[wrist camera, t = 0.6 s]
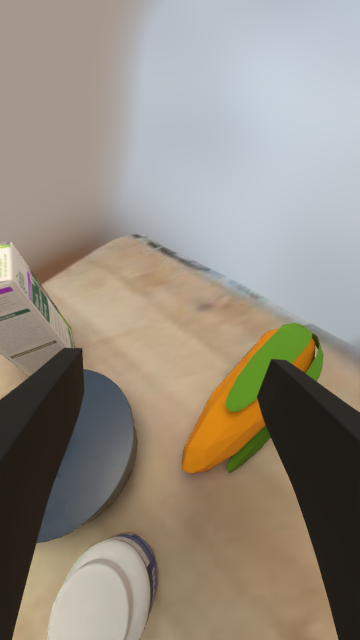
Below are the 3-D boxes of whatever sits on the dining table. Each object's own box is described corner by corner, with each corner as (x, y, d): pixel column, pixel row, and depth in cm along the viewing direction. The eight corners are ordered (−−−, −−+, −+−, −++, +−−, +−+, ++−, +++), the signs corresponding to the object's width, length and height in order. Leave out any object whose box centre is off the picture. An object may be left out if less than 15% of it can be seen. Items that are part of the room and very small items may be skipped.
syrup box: (78, 361, 32) (15, 277, 20) (28, 379, 30) (-69, 300, 19) (70, 327, 35) (12, 237, 23) (25, 342, 34) (-60, 255, 22)
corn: (356, 330, 25) (226, 513, 16) (326, 368, 30) (219, 516, 22) (286, 294, 28) (151, 429, 20) (272, 334, 34) (163, 451, 26)
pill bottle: (134, 646, 18) (94, 754, 10) (78, 593, 20) (7, 651, 12) (171, 557, 21) (163, 588, 13) (119, 517, 23) (84, 523, 15)
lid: (116, 552, 18) (98, 564, 14) (-58, 531, 19) (-118, 538, 15) (146, 377, 26) (139, 355, 22) (22, 368, 27) (-5, 346, 23)
